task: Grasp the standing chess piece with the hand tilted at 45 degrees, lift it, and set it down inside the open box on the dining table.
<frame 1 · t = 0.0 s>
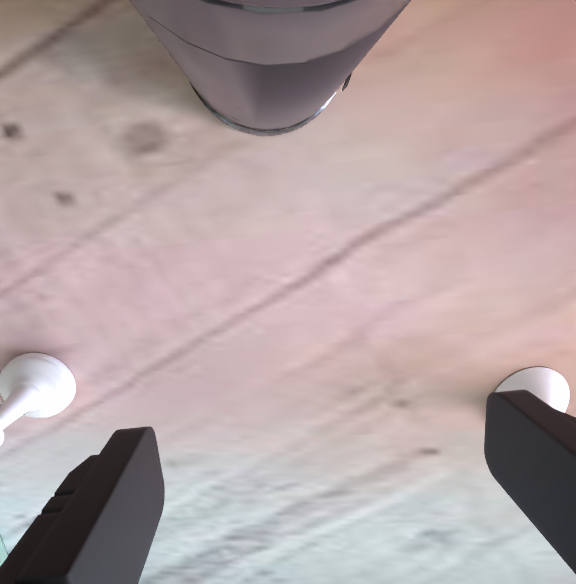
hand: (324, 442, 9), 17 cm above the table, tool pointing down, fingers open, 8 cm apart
chess piece: (41, 382, 27), on the table
champagne flute: (527, 402, 30), on the table
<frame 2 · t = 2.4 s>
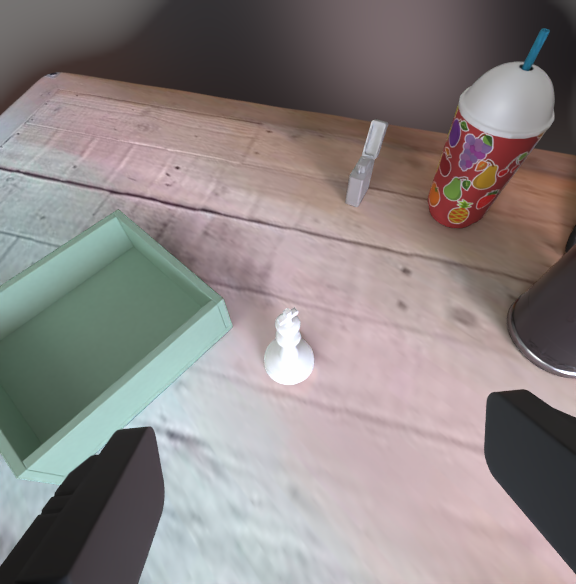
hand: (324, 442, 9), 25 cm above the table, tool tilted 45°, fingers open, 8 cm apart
lighter: (361, 188, 48), on the table
chess piece: (289, 360, 36), on the table
open box: (106, 342, 37), on the table
smoothie: (451, 212, 46), on the table
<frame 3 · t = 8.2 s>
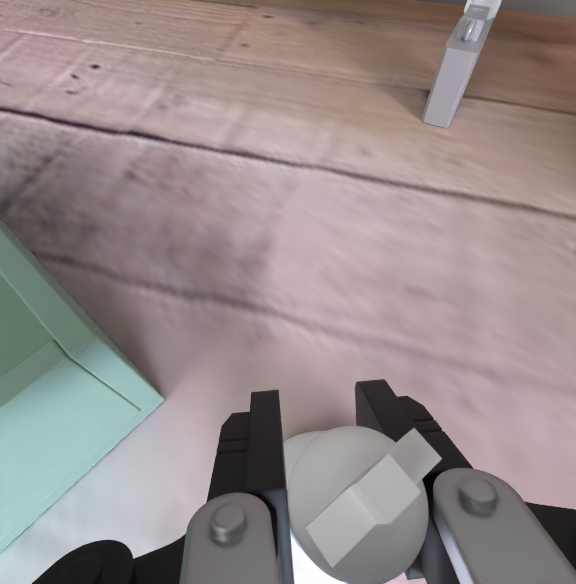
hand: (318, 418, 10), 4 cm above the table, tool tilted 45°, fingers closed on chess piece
lighter: (447, 98, 25), on the table
chess piece: (321, 511, 12), on the table, touching gripper
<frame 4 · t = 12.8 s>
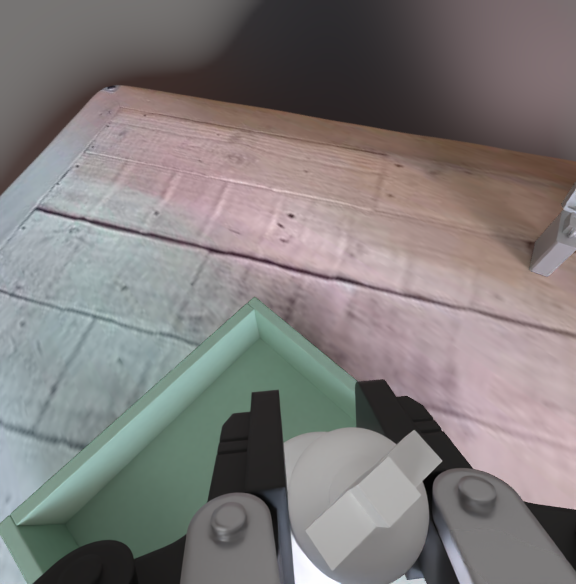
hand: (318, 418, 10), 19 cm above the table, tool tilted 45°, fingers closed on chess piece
lighter: (542, 248, 36), on the table
chess piece: (321, 512, 12), point 15 cm above the table, touching gripper
open box: (245, 498, 25), on the table
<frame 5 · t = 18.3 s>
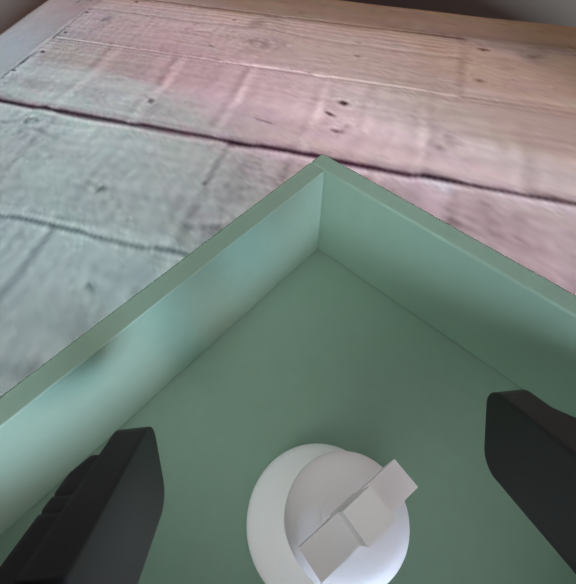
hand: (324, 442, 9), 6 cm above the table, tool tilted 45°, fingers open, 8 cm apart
chess piece: (317, 520, 13), point 1 cm above the table, touching open box
open box: (315, 514, 13), on the table
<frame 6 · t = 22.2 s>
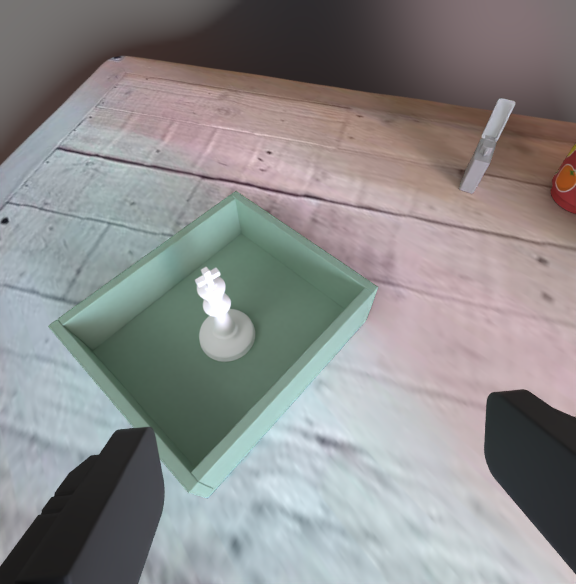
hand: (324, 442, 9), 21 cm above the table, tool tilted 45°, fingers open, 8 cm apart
lighter: (471, 174, 45), on the table
chess piece: (227, 336, 33), point 1 cm above the table, touching open box
open box: (228, 337, 34), on the table
smoothie: (575, 199, 43), on the table
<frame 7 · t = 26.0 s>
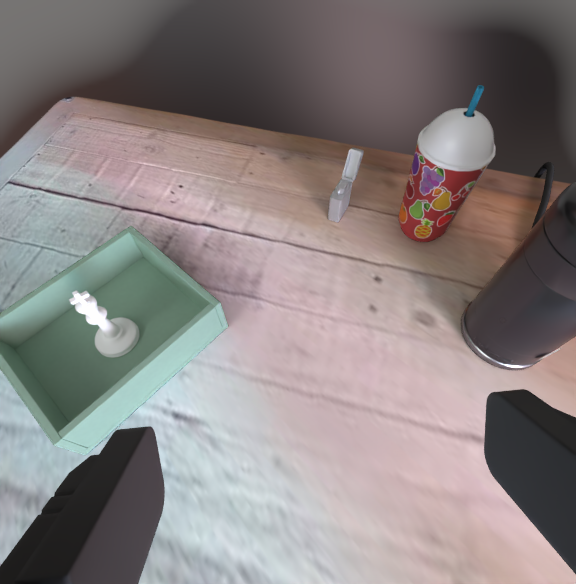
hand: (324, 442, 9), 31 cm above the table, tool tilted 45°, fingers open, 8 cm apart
lighter: (341, 206, 55), on the table
chess piece: (118, 338, 43), point 1 cm above the table, touching open box
open box: (120, 339, 44), on the table
smoothie: (419, 228, 53), on the table
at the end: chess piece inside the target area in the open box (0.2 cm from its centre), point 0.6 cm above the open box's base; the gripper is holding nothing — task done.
